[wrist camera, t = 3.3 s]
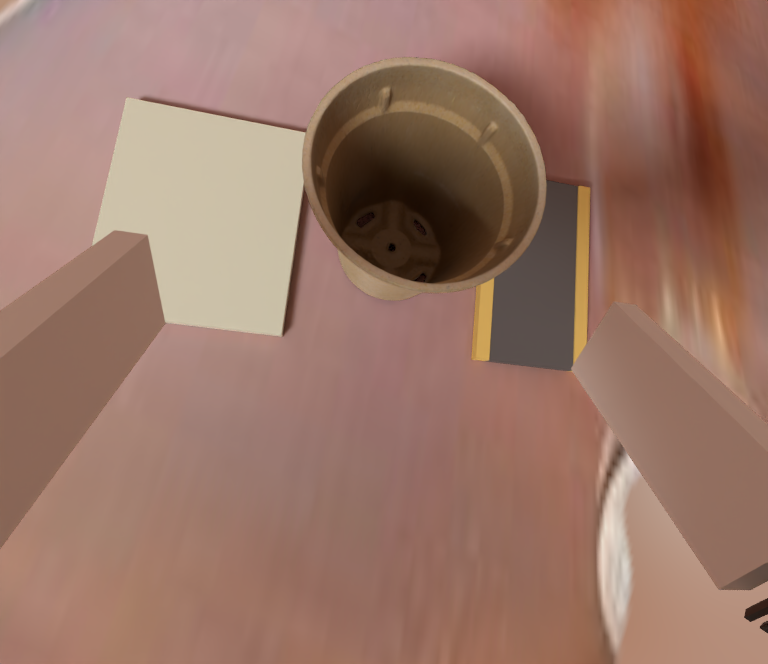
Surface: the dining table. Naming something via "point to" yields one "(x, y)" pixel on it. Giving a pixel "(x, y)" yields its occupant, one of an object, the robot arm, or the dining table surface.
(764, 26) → the dining table surface
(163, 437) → the dining table surface
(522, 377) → the dining table surface
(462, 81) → the flower pot
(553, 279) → the trap mat
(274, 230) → the pad
